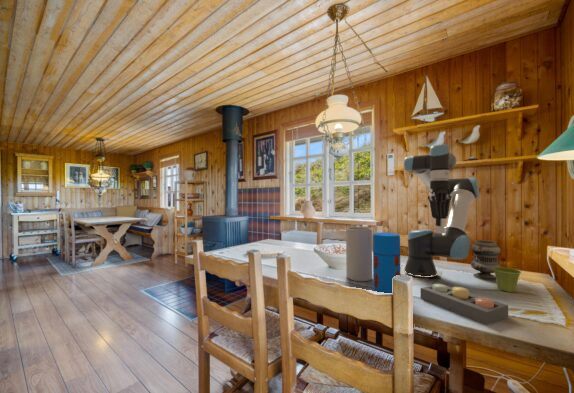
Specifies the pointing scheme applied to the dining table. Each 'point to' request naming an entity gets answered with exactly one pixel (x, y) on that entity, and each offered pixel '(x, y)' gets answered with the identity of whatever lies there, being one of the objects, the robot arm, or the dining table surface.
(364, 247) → the cylinder vase
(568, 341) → the dining table surface
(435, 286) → the sage button
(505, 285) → the plant pot
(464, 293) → the ochre button
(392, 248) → the thermos
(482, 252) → the apothecary jar
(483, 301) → the pink button
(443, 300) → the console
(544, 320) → the dining table surface
